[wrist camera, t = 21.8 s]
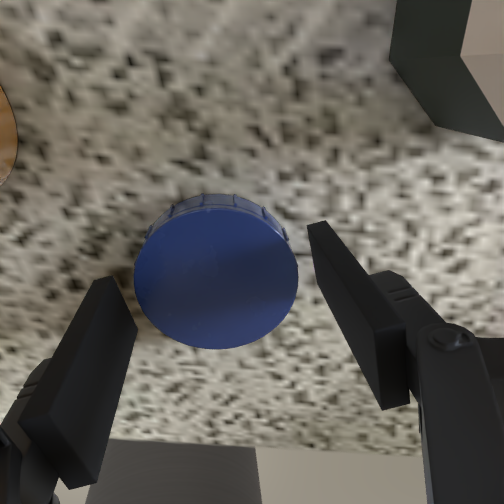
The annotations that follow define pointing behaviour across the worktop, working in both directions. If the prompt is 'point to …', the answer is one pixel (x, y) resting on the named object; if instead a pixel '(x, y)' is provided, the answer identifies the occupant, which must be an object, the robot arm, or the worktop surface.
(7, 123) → the jam jar
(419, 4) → the wine bottle
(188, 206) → the jam lid
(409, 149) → the worktop surface
